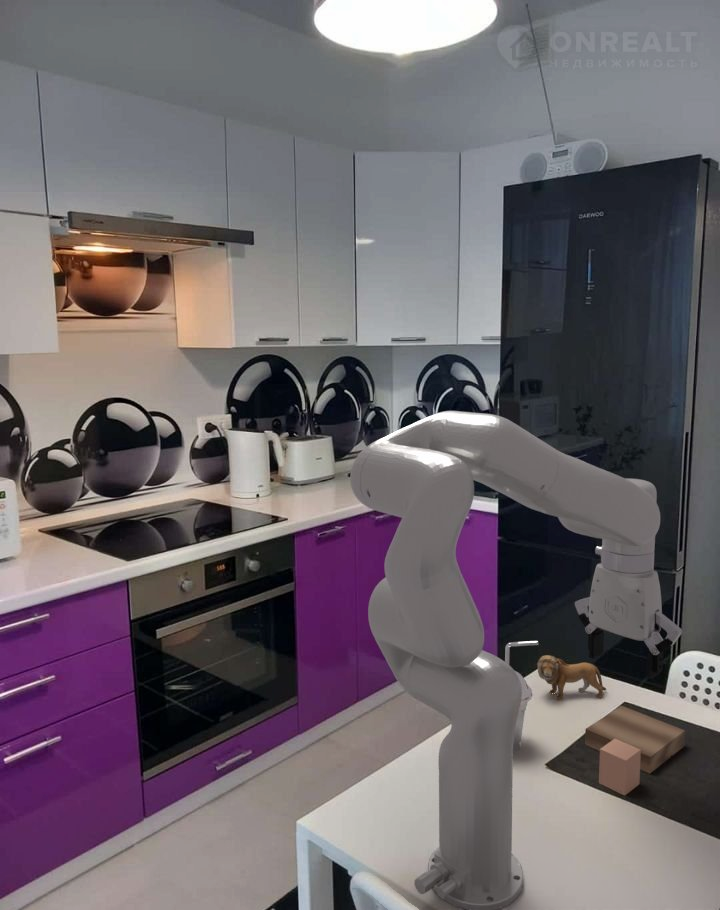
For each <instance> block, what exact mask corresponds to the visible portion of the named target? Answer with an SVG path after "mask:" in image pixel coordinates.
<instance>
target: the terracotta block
mask: <svg viewBox="0 0 720 910" xmlns="http://www.w3.org/2000/svg"><path fill="white" fill-rule="evenodd" d="M640 758H641V749H638V748H636V747H634V746H631V745H629V744H627V743H624V742H622V741H620V740H617V739H614V740H612V741H611V742H609V743H608V744H606V745H605V746H604V747H602V748H601V749H600V751H599V765H598V766H599V768H598V770H599V771H598V772H599V773H598V774H599V775H598V784H600V785H601V786H604V787H605V788H608V789H611V790H612V791H614V792H616V793H619V794H620V795H623V796H626V795H627V794H629V793H630V792H632V790H634V789H635V788H637V787H638V786H639V785H640V780H641V777H640V776H641V770H640Z"/></svg>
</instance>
